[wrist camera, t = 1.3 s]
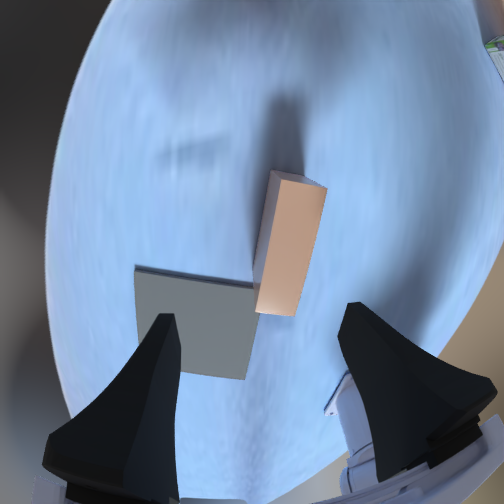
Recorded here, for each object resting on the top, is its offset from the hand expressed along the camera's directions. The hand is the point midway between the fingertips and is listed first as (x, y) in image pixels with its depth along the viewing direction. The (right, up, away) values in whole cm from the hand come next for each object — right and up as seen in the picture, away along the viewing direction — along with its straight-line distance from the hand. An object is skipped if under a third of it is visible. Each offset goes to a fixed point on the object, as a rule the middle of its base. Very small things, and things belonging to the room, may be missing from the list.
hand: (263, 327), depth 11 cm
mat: (-6, -4, +13) cm, 15 cm away
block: (+1, +5, +10) cm, 11 cm away
